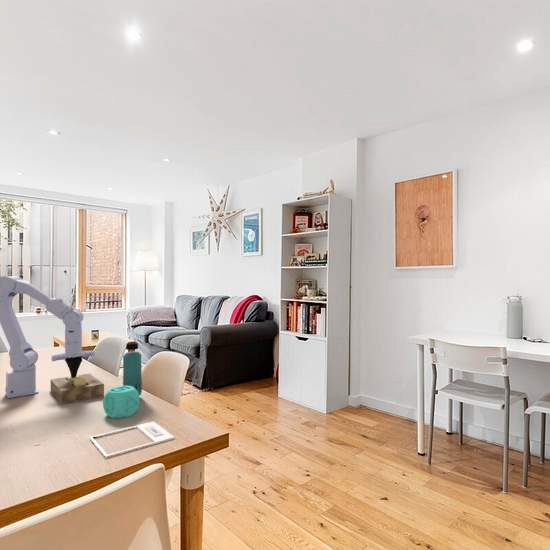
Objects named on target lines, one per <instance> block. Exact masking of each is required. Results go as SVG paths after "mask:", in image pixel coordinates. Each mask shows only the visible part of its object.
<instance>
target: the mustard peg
mask: <svg viewBox="0 0 550 550" xmlns="http://www.w3.org/2000/svg"><path fill="white" fill-rule="evenodd" d="M85 385H86V376H79V377H75V378H74V387H79V386H85Z"/></svg>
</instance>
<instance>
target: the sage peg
mask: <svg viewBox="0 0 550 550" xmlns="http://www.w3.org/2000/svg"><path fill="white" fill-rule="evenodd" d="M67 377H68V381H73V380H74V378H72V377H71V375H70V376H67ZM76 377H79V376H77V375H76Z"/></svg>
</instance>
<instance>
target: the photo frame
mask: <svg viewBox="0 0 550 550" xmlns="http://www.w3.org/2000/svg"><path fill="white" fill-rule="evenodd" d="M132 428H135V429H137V428H138V429H139V430H140V431H139V430H138V429H137V430H138V431H139V432H140V433H142V432H143V433H144V434H145V435H146V436H145V435H144V434H143V433H142V434H143V435H144V436H145V437H146V438H148V439H149V438H150V439H151V440H152V441H151V440H150V439H149V440H150V442H148V443H144V444H141V445H138V446H137V445H136V446H134V447H130V448H127V449H123V450H120V451H117V452H112V453H109V454H108V453H106V451H105V450H104V449H103V447H101V445H100V444H99V443H98V442H97V441H96V440H95V438H96V437H99V438H101V437H100V436H103V437H106V436H105V435H107V436H110V435H109V434H111V435H114V434H113V433H115V434H118V433H117V432H119V433H121V432H120V431H123V432H125V431H124V430H127V429H131V430H133V429H132ZM127 431H128V430H127ZM93 437H95V438H93ZM175 439H176V437H175V436H174V435H173V434H172V433H170V432H169V431H168V430H166V429H165V428H163V427H162V426H161V425H159V424H158V423H156V421H150V422H146V423H141V424H137V425H134V426H128V427H125V428H119V429H117V430H112V431H107V432H105V433H104V432H103V433H99V434H96V435H93V436H88V440H89V441H90V440H91V441H92V442H93V443H94V444H93V443H92V442H91V441H90V442H91V443H92V444H93V446H94V447H95V446H96V447H97V448H98V449H99V450H98V449H97V448H96V447H95V448H96V449H97V450H98V451H99V453H100V452H101V453H102V454H103V455H104V456H105V457H104V456H103V455H102V454H101V453H100V454H101V455H102V456H103V457H104V459H105V458H106V457H110V456H113V455H117V454H120V455H122V454H121V453H124V454H126V453H125V452H127V453H129V452H128V451H131V450H134V451H136V450H135V449H138V450H141V449H143V448H142V447H144V448H147V447H146V446H148V447H151V446H154V444H155V445H158V444H162V443H165V442H167V441H172V440H175ZM161 442H162V443H161ZM150 445H151V446H150ZM140 448H141V449H140ZM131 452H132V451H131ZM117 456H118V455H117ZM113 457H114V456H113ZM110 458H111V457H110ZM106 459H107V458H106Z"/></svg>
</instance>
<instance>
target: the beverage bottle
mask: <svg viewBox="0 0 550 550" xmlns="http://www.w3.org/2000/svg"><path fill="white" fill-rule="evenodd" d="M125 345H126V346H125V349H126V351H127V352H126V353H124V354H123V356H122V371H123V372H122V386H132V387H134V388H135V389H136V390H137V391H138V394H139V396H141V395H142V392H143V380H142V377H143V376H142V370H143V369H142V368H143V366H142V353H140V352H139V351H137V350H138V349H139V343H138V342H133V341H132V342H128V343H126V344H125ZM128 350H130V351H128ZM131 350H134V351H131ZM135 350H136V351H135Z"/></svg>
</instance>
